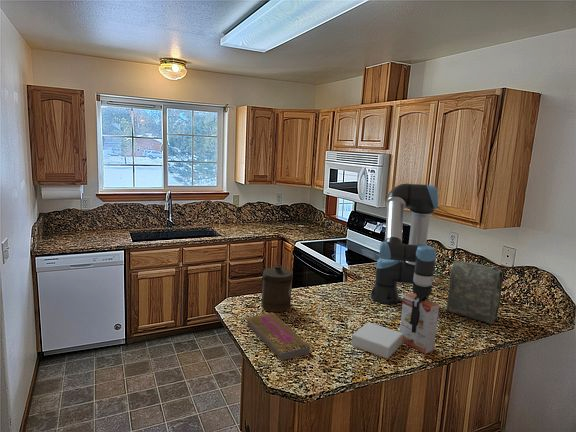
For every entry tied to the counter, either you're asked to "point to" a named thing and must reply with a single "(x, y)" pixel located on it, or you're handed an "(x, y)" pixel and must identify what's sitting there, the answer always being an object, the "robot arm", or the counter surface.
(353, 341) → the marble slab
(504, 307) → the counter surface
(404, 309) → the cracker box
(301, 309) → the counter surface
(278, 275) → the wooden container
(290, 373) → the counter surface
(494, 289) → the bag
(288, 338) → the brown and pink box
